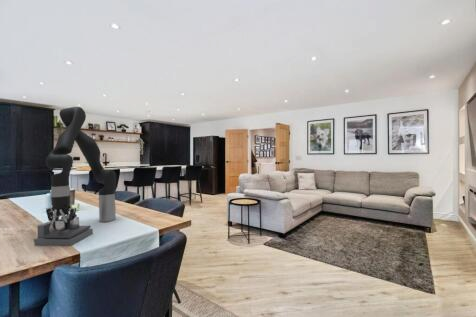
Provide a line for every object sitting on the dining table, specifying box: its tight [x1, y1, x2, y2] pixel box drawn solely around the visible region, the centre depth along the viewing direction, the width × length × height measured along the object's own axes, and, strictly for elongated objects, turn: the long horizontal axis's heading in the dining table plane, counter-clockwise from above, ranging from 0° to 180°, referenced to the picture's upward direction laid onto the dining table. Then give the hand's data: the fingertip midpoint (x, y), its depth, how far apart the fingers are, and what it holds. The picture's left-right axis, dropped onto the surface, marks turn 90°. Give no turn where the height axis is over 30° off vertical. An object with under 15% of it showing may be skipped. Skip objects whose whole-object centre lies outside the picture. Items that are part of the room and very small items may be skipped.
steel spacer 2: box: [69, 216, 80, 229], centre depth 125 cm, size 5×5×5 cm
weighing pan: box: [43, 225, 91, 238], centre depth 122 cm, size 15×13×1 cm
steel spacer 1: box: [55, 218, 68, 232], centre depth 117 cm, size 5×5×5 cm
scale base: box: [33, 220, 94, 247], centre depth 122 cm, size 16×18×9 cm
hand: (61, 229), depth 118 cm, fingers closed on steel spacer 1, 5 cm apart
